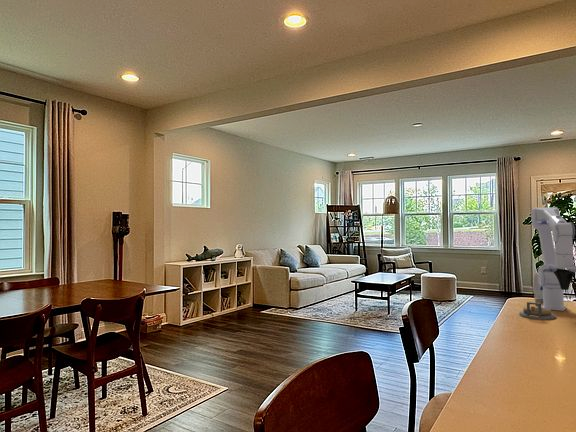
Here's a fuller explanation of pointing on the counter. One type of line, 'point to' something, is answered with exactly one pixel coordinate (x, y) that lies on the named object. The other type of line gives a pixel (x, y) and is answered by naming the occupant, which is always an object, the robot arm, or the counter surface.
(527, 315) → the disc
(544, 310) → the capstan disc
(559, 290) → the robot arm
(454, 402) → the counter surface
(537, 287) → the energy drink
